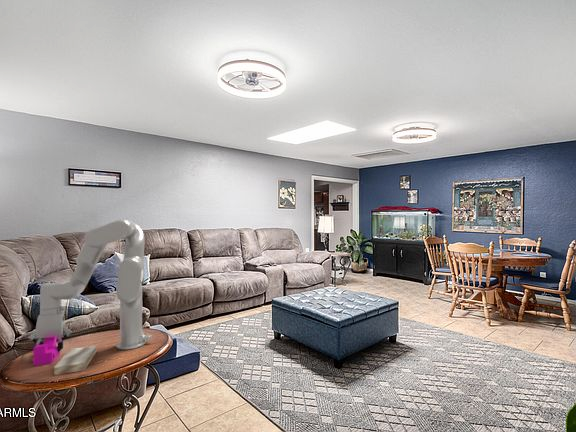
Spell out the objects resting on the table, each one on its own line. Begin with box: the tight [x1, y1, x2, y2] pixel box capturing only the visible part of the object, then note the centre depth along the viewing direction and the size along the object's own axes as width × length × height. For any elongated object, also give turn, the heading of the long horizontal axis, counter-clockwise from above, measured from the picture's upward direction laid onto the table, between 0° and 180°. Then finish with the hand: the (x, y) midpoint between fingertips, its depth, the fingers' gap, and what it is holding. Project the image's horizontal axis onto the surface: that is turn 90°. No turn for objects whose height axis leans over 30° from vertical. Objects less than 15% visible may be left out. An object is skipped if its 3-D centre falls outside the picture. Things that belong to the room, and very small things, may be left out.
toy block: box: [33, 337, 61, 366], centre depth 137 cm, size 15×6×8 cm, turn 21°
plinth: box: [53, 345, 97, 376], centre depth 131 cm, size 10×19×3 cm, turn 20°
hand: (50, 351), depth 139 cm, fingers closed on toy block, 6 cm apart
